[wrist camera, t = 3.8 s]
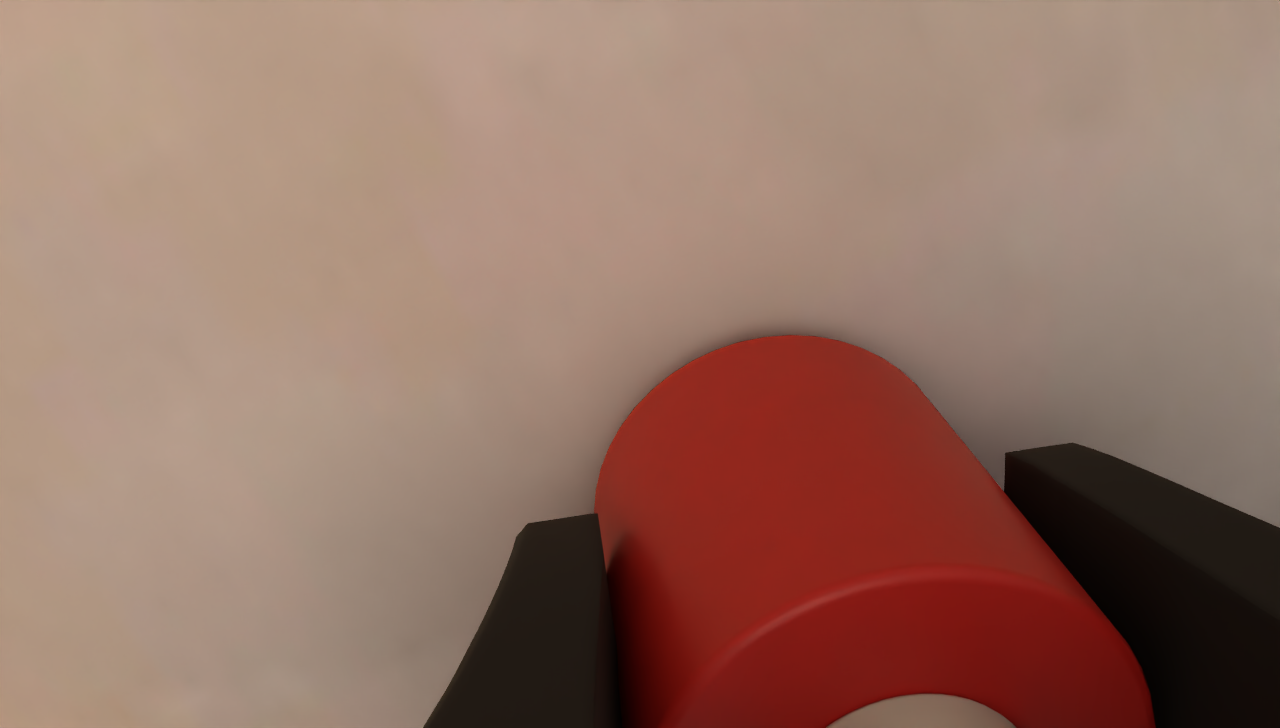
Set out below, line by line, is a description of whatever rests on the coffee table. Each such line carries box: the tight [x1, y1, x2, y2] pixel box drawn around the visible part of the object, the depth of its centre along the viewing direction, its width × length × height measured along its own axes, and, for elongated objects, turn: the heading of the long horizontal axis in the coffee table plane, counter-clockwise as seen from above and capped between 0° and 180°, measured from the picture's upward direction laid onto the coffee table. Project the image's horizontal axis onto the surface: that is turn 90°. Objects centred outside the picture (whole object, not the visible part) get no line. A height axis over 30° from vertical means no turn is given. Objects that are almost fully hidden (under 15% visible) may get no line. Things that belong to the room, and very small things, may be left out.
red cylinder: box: [594, 335, 1156, 728], centre depth 9 cm, size 4×4×5 cm
